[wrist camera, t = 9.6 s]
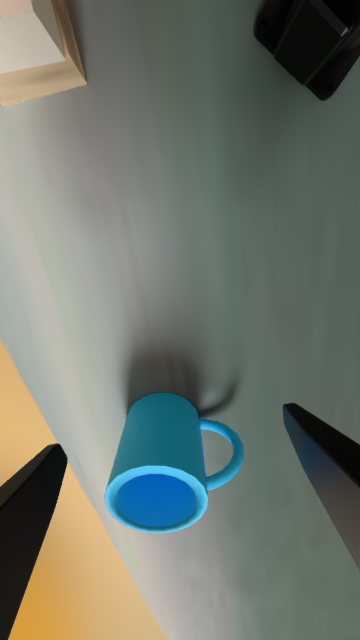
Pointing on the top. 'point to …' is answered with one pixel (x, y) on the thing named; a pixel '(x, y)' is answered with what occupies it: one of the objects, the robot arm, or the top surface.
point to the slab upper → (28, 35)
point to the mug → (165, 466)
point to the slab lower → (47, 68)
